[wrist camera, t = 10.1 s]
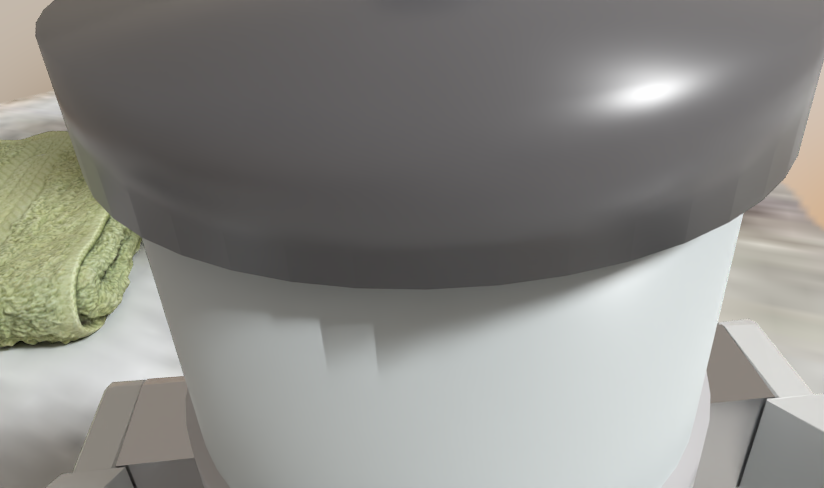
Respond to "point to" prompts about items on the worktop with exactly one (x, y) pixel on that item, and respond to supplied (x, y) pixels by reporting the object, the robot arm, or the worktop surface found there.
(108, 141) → the french press
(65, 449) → the worktop surface
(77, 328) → the washcloth
